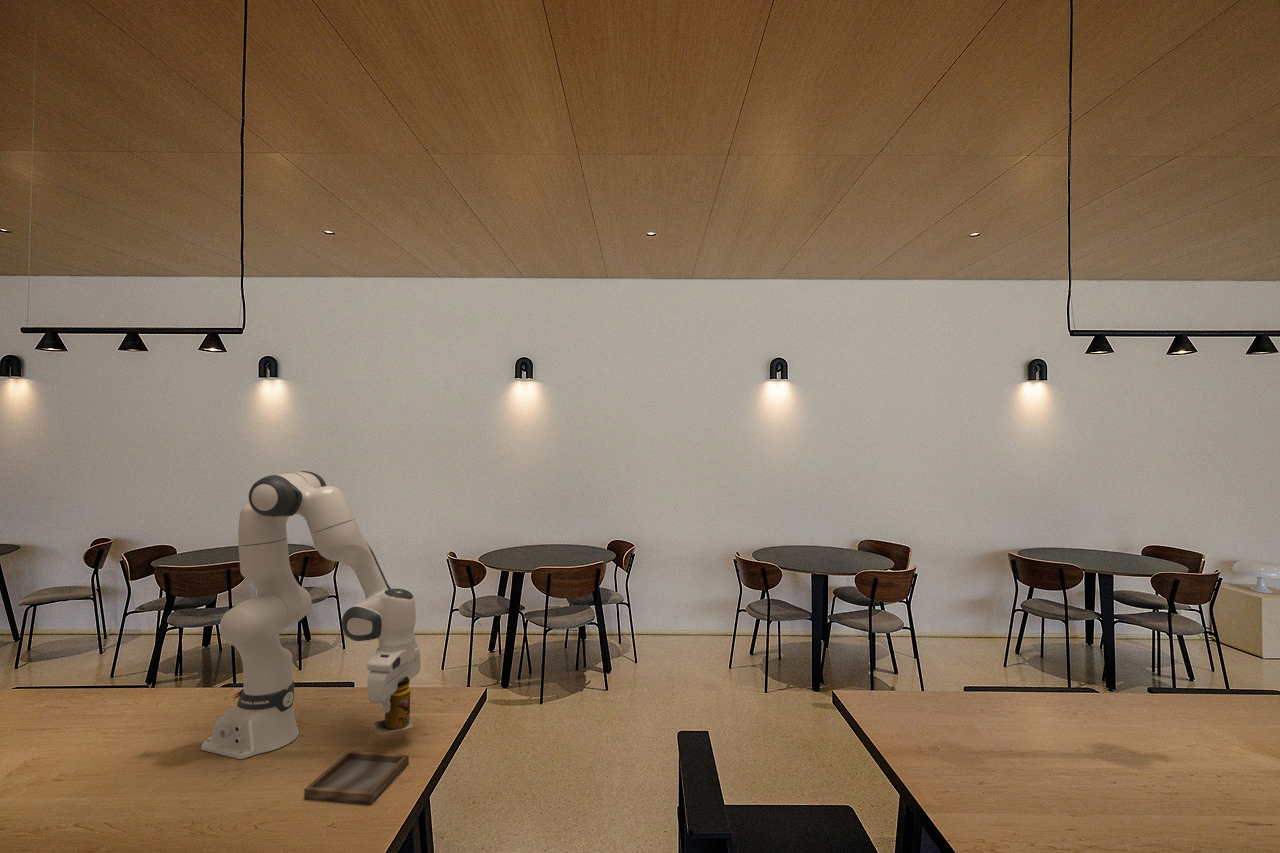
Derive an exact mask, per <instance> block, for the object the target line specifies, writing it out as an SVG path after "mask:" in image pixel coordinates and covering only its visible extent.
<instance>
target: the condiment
mask: <svg viewBox="0 0 1280 853" xmlns="http://www.w3.org/2000/svg"><path fill="white" fill-rule="evenodd" d="M389 700H390V703H392V710H391V711H389V712H388V713H387V712H384V713H385V715H384V718H385V719H383V720H378V721H374V722H373V724H374V726H375V729H376V732H377V734H378V736H381V735H383V734H384V735H386V734H387V733H389V734H390V733H393V732H398V731H399V732H400V731H402V730H407V729H410V728H414V724H413V723H412V721H411V719H410V713H411V687H410V685H409V678H408V677H405V678H404V679H403V680H402V681H401V682H399V683H398V689H397V691H396V692H395V693H393V694H392V695H391V699H389Z"/></svg>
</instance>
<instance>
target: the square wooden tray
mask: <svg viewBox="0 0 1280 853" xmlns="http://www.w3.org/2000/svg"><path fill="white" fill-rule="evenodd" d="M409 756H410V755H409V754H399V753H383V752H372V751H369V752H368V751H360V750H359V751H358V750H348V751H346V752H345V753H344V754H343V755H342V756H340V758H338V759H337V760H336V761H335V762H334V763H332V764H331V765H330V766H329V767H328V768H327V769H325V771H323V772H322V773H321V774H320V775H319V776H318V777H316V779H314V780H313V781H311V782H310V784H308V785H307V786H306V787H305V788H304V790H303V791H304V792H303V793H304V797H303V799H304V801H306V800H307V801H317V802H318V801H321V802H331V803H332V802H333V803H343V804H351V805H353V804H354V805H365V806H372V805H373V804H374V803H375V802H376V801H377V799H378V798H379V797H381V795H382V794H383V793H384V792H385V791H386V790H387V789H388V788H389V786H391V784H392V783H393V782H394V781H395V780H396V779H397V778H398V777H399V776H400V775H401V773H402V772H403V771H405V769H406V768H407V767H408V766H409V763H410V762H409ZM398 775H399V776H398ZM397 776H398V777H397ZM396 777H397V778H396ZM395 778H396V779H395ZM394 779H395V780H394ZM393 780H394V781H393Z"/></svg>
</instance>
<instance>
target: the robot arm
mask: <svg viewBox="0 0 1280 853" xmlns="http://www.w3.org/2000/svg"><path fill="white" fill-rule="evenodd" d="M294 515H299V516H301V517H302V518H303V519H304V520H305V521H306V524H307V527H308V529H309V533H310V536H311V539H312V541H313V544H314V547H315V549H316V550H317V552H318V553H319V554H320V556H321V557H323V558H324V559H326V560H329V561H331V562H337V563H338V562H339V563H342V564H345V565H347V566H349V567H350V568H351V569H352V570H353V571H354V574H355V575H356V578H357V579H358V582H359V584H360V586H361V589H362V590H363V593H364V596H365V598H364V600H362V601H360V602H357V603H355V604H354V605H352V606H350V608H348V609H347V610H346V611H345V612H344V614H343V615H342V618H341V619H342V620H341V627H342V631H343V633H344V634H345V636H346V637H347V638H348V639H350V640H351V641H354V642H364V641H365V642H366V641H372V640H376V639H377V640H378V647H377V649H376V651H375V652H374V654H373V655H372V656H371V658H370V659H369V660H368V662H367V664H366V665H367V671H369V673H368V675H367V688H366V689H367V693H366V694H367V700H368V702H369V703H373V704H381V705H382V712H383V713H385V712H387V713H388V712H389V711H391V710H392V703H390V700H389V699H391V695H392V694H393V693H395V692H396V691H397V689H398V683H399V682H401V681H402V680H403V679H404V678H405V677H408V678H409V686H410V684H411V680H412V679H413V678H415V677H416V676H417V675H418V674H419V673H420V672H421V671H420V670H421V652H420V649H419V648H418V643H417V642H416V636H415V631H414V630H415V626H416V622H417V620H416V617H417V616H416V614H417V613H416V612H417V611H416V601H415V598H414V597H415V596H414V594H413V593H411V592H410V591H409V590H407V589H404V588H392V587H391V586H390V584H389V583H388V581H387V579H386V577H385V575H384V572H383V570H382V568H381V566H380V564H379V562H378V560H377V557H376V555H375V554H374V552H373V549H372V548H371V546H370V545H369V544H368V542H367V541H366V540H365V538H364V536H363V533H362V532H361V530H360V528H359V524H358V523H357V520H356V517H355V514H354V511H353V510H352V507H351V505H350V503H349V502H348V500H347V497H346V496H345V495H344V492H343V491H342V490H341V489H340V488H339V487H336V486H333V485H327V484H326V481H325V480H324V478H323V477H322V476H320V475H319V474H317V473H315V472H312V471H307V470H306V471H305V470H301V471H287V472H282V473H279V474H278V473H277V474H271V475H267V476H264V477H262V478H260V479H258V480H257V481H255V483H253V484H252V486H251V488H250V489H249V491H248V503H246V504H245V505H244V506H243V507H242V508H241V510H240V513H239V519H238V528H237V529H238V530H237V541H238V542H237V544H238V560H239V569H240V574H241V576H242V577H244V579H246V580H249V581H251V582H252V584H253V585H254V588H255V590H256V595H257V596H255V597H252V598H249V599H247V600H243V601H241V602H240V603H238V604H236V605H234V606H233V607H232V608H230V609H228V611H226V612H225V613H224V614H223V616H222V617H221V619H220V623H219V630H220V631H219V632H220V635H221V637H222V639H223V640H224V641H225V642H226V643H227V644H229V645H230V646H233V647H234V648H235V649H236V650H237V651H238V653H239V655H240V658H241V662H242V673H243V677H242V678H243V679H242V680H243V688H242V689H240V691H238V692H236V693H235V694H233V696H234V697H233V700H236V699H238V700H237V703H236V704H235V705H234V706H232V707H231V708H230V709H228V710H227V711H226V712H225V713H224V714H222V715H221V716H220V717H219V718H218V719H217V720H216V722H215V723H214V725H213V729H212V735H211V736H209V737H208V738H206V739H205V740H204V741H203V742H202V743H201V745H200V746H201V747H200V750H201V751H205V752H209V753H212V754H217V755H221V756H225V757H230V758H234V759H237V760H243V759H247V758H249V757H252V756H255V755H258V754H263V753H267V752H272V751H274V750H277V749H280V748H283V747H285V746H286V745H288V744H290V743H292V742H293V741H294V740H296V738H298V736H299V734H300V731H299V727H298V724H297V719H296V714H295V709H294V708H295V706H294V699H295V682H294V680H293V654H292V651H291V650H289V649H288V648H286V647H283V646H282V644H281V641H280V632H281V631H283V630H285V629H288V628H290V627H291V626H294V625H296V624H297V623H299V622H300V621H301V620H302V619H303V618H305V616H307V615H308V614H309V612H310V611H311V609H312V597H311V594H310V593H309V592H308V590H307V589H306V588H304V587H303V586H301V585H300V584H299V583H298V581H297V579H296V578H295V576H294V572H293V570H292V568H291V562H290V557H289V556H290V553H289V546H288V545H289V542H288V534H287V533H288V532H287V521H288V519H289V518H290V517H292V516H294Z"/></svg>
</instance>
